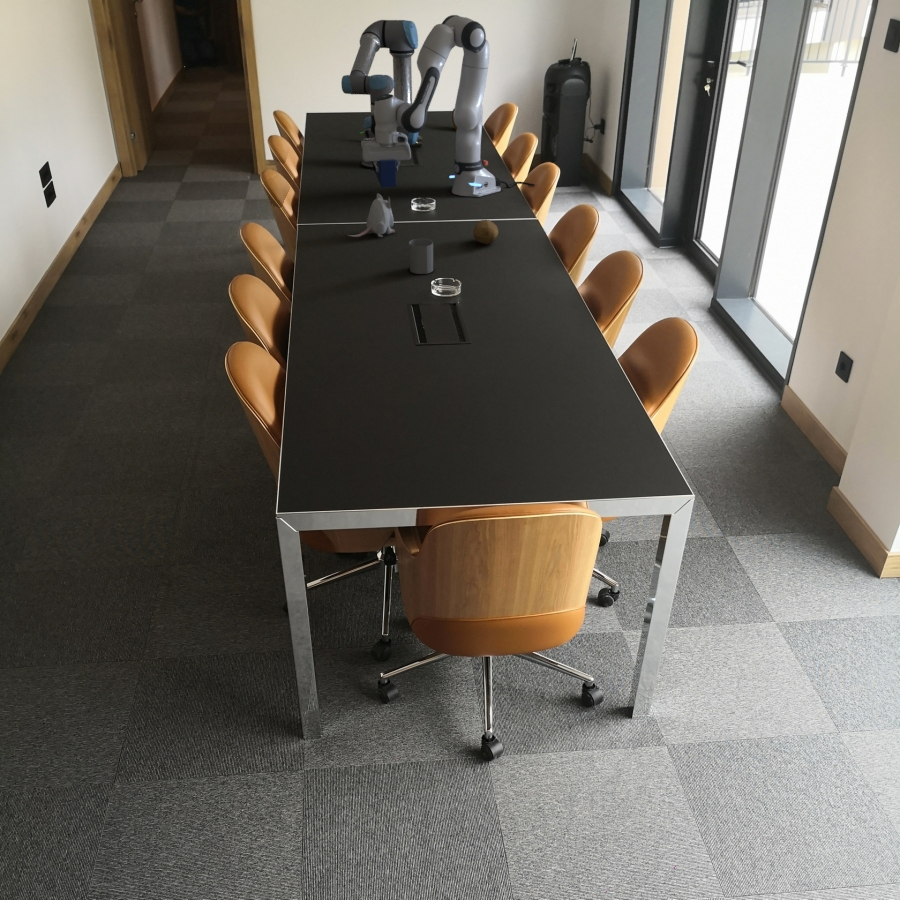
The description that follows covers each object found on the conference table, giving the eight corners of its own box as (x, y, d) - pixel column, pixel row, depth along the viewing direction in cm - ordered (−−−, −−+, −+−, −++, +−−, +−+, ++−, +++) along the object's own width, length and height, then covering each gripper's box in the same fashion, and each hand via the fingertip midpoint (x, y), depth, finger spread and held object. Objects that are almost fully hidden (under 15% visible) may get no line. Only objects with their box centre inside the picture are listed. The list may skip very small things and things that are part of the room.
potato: (495, 236, 338) (496, 216, 334) (500, 248, 327) (500, 227, 322) (471, 236, 338) (471, 216, 334) (474, 249, 326) (474, 228, 322)
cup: (409, 265, 311) (408, 238, 306) (432, 265, 312) (431, 238, 307) (410, 274, 304) (409, 246, 299) (433, 273, 305) (433, 246, 299)
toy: (400, 232, 342) (399, 194, 334) (355, 247, 327) (353, 208, 319) (385, 227, 347) (383, 189, 339) (340, 242, 333) (337, 203, 324)
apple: (471, 132, 486) (471, 108, 479) (451, 132, 486) (451, 108, 479) (470, 128, 495) (471, 104, 488) (452, 128, 495) (452, 104, 488)
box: (374, 170, 386) (373, 145, 380) (387, 169, 387) (386, 144, 381) (381, 187, 363) (380, 161, 357) (396, 186, 364) (395, 160, 358)
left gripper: (358, 117, 366) (361, 172, 378) (403, 115, 369) (404, 170, 381) (356, 113, 372) (359, 168, 385) (400, 111, 375) (402, 166, 388)
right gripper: (361, 139, 352) (363, 174, 360) (411, 137, 355) (412, 172, 363) (359, 136, 357) (361, 170, 365) (409, 134, 360) (409, 168, 368)
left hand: (381, 169), depth 383 cm, fingers closed on box, 6 cm apart
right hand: (387, 171), depth 364 cm, fingers closed on box, 6 cm apart
